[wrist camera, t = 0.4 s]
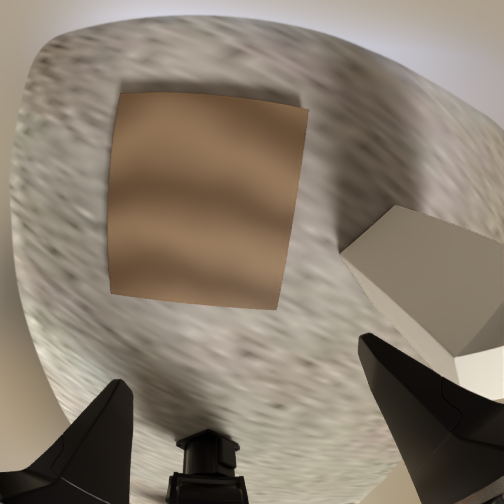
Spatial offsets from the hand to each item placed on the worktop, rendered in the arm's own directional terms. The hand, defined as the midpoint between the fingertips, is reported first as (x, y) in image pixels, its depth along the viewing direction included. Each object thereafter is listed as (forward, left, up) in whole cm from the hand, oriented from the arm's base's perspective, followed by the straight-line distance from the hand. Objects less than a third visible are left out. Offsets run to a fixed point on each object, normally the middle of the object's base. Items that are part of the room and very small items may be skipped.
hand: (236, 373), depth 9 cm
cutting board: (+1, +5, -14) cm, 15 cm away
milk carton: (+11, -9, -14) cm, 20 cm away
